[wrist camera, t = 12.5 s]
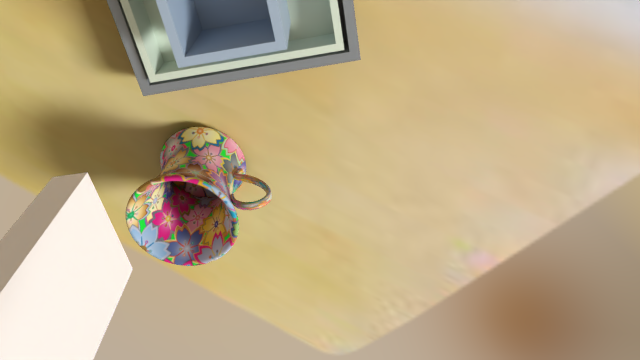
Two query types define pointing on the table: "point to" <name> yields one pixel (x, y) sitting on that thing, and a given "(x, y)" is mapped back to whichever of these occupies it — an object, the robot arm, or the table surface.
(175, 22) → the small crate
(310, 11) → the top crate
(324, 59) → the bottom crate
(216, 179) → the mug
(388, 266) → the table surface
